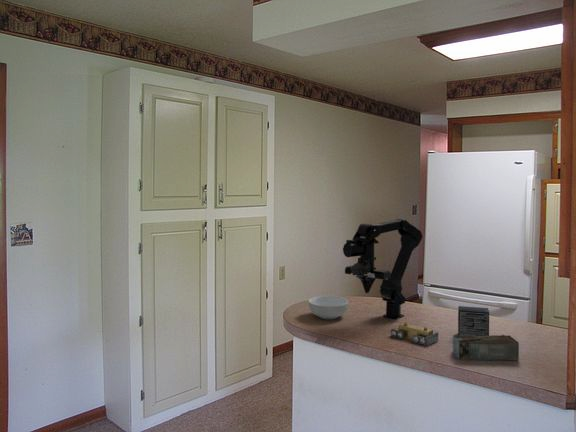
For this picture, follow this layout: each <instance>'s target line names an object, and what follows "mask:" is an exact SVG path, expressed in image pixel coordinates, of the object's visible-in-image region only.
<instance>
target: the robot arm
mask: <svg viewBox="0 0 576 432" xmlns="http://www.w3.org/2000/svg"><path fill="white" fill-rule="evenodd" d="M394 231H397V234H399V235H400V239H399V240H400V245H401V247H400V249H399V252H398V254H397V256H396V257H397V258H396V259H395V262H394V265H393V268H392V270H391V272H390V270H389V269H379V270H377V266H375V261H376V260H377V257H375V244H379V243H380V242H379V241H378V240H377V239H376V238H378V237H380V236H381V234H384V233H385V234H386V233H389V232H394ZM422 240H423V233H422V231H421V230H420V229H418V228H417V227H416V226H414V225H413V224H411V223H410V222H409V221H407V220H406V219H403V218H402V219H401V218H396V219H393V220H390V221H384V222H379V223H361V224H359V226H358V228H357V230H356V232H355V233H354V235H353V236H352V239H346V241H345V244H344V245H343V247H342V253H343V255H344V256H345V257H346V258H353V257H357V258H358V259H357V262H356V263H354V264H353V265H348V266H346V267H345V268H344V274H345V275H352V276H356V278H357V279H359V280H360V281H361V285H362V287H363V290H364V292H365V294H369V293H370V290H371V289H372V286H373V285H374V282H375V281H376V279H378V280H382V282H381V284H380V286H379V288H380V289H379V293H380V295H381V299H382V301H384V302H386V303H385V304H386V305H385V306H386V307H385V313H384V314H383V317H386V318H389V319H395V320H397V319H400V318H402V317H405V315H404V314H402V312H401V310H402V305H403V304H405V303H406V300H407V298H406V296H404V295H403V294H402V290H403V286H402V285H403V284H402V279H403V277H404V274H405V271H406V269H407V266H408V263H409V261H410V258H411V256H412V253H413V252H414V250H415V249H416V248H417V247H419V245H420V243H421V241H422Z"/></svg>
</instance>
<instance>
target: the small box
mask: <svg viewBox="0 0 576 432" xmlns="http://www.w3.org/2000/svg"><path fill="white" fill-rule="evenodd" d="M457 309H458V310H457V312H458V313H457V317H458V318H457V335H462V336H463V335H464V336H490V309H489V307H479V306H478V307H476V306H475V307H474V306H465V305H463V306H461V305H459V306H458V308H457Z"/></svg>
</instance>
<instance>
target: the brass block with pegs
mask: <svg viewBox="0 0 576 432" xmlns="http://www.w3.org/2000/svg"><path fill="white" fill-rule="evenodd" d="M397 327H398V329H397V330H398V331H402V332H404V339H408V340H411V341H413V335H418V336H422V337H426V336H429V335H431V334H433V333H434V329H431V328H428V327H427V326H424V327H422V326H418V325H414V324H409V323H408V322H401V323H400V324H398V326H397Z"/></svg>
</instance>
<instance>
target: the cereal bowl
mask: <svg viewBox="0 0 576 432" xmlns="http://www.w3.org/2000/svg"><path fill="white" fill-rule="evenodd" d="M308 308H309V311H310V312H311V313H312V314H313V315H314V316H317V317H319V318H320V319H322V320H335V319H337V318H338V317H341V316H344V314H345V313H347V311H348V310H349V300H348V299H347V298H345V297H343V296H342V297H341V296H336V295H318V296H314V297H312V298H311V297H310V298H309V299H308Z"/></svg>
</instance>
